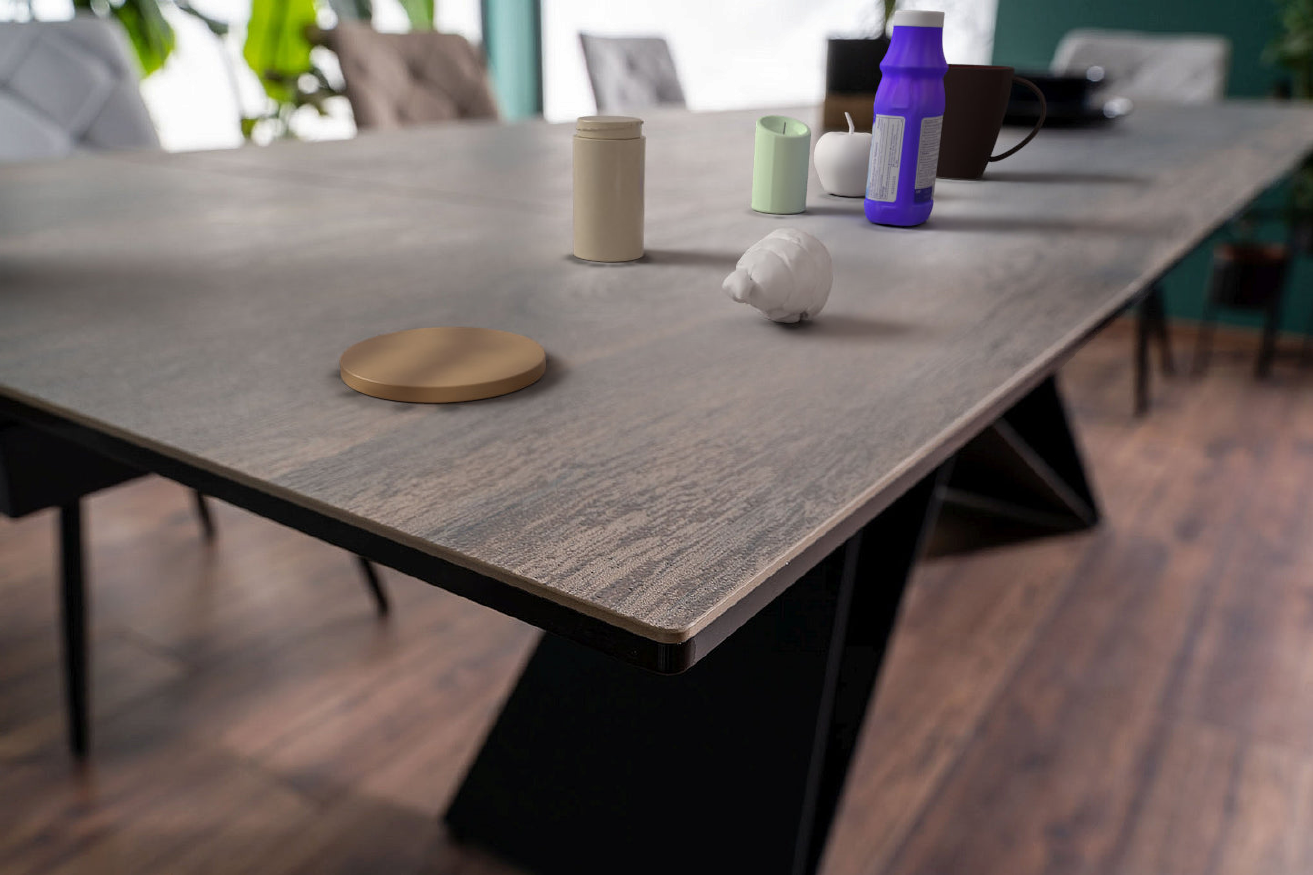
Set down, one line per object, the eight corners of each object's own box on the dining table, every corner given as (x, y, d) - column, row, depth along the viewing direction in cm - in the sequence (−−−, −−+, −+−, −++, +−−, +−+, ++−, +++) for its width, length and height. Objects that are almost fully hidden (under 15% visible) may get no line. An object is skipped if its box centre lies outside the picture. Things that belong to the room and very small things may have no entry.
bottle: (876, 212, 100) (896, 10, 93) (938, 218, 97) (962, 11, 91) (854, 224, 94) (873, 9, 87) (919, 231, 91) (944, 10, 85)
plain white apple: (816, 187, 113) (822, 108, 110) (884, 191, 112) (892, 111, 109) (806, 197, 107) (812, 113, 104) (878, 202, 105) (887, 117, 102)
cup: (915, 168, 130) (927, 62, 126) (1036, 175, 126) (1052, 67, 121) (905, 178, 121) (918, 65, 117) (1035, 187, 117) (1052, 71, 113)
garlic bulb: (697, 322, 63) (700, 229, 61) (769, 307, 66) (775, 218, 64) (763, 344, 59) (769, 245, 57) (836, 327, 63) (845, 233, 61)
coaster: (315, 400, 49) (313, 384, 49) (369, 338, 58) (368, 324, 58) (535, 405, 49) (535, 388, 49) (554, 342, 58) (553, 328, 58)
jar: (574, 261, 77) (573, 121, 74) (572, 247, 82) (571, 114, 79) (646, 262, 78) (649, 122, 74) (640, 247, 83) (642, 115, 79)
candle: (815, 212, 99) (822, 119, 96) (766, 215, 97) (772, 120, 94) (789, 204, 103) (795, 114, 100) (742, 206, 101) (746, 115, 98)
